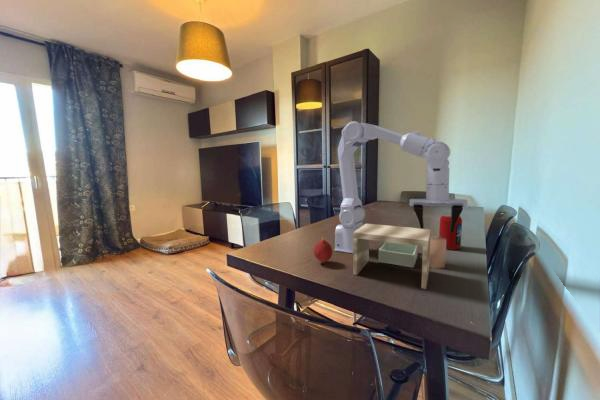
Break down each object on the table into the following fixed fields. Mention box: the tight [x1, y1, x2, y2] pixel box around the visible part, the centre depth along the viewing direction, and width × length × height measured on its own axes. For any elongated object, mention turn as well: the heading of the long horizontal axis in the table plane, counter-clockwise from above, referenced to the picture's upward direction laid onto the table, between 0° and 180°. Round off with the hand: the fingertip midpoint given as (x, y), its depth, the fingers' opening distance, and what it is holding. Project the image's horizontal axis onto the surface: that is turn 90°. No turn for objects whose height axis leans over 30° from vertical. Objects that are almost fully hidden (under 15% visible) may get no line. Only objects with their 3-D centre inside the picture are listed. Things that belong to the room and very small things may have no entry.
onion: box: [313, 237, 333, 264], centre depth 77 cm, size 6×6×8 cm
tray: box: [377, 242, 419, 268], centre depth 80 cm, size 10×15×4 cm, turn 149°
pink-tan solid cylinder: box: [429, 235, 447, 269], centre depth 74 cm, size 6×6×8 cm
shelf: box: [352, 223, 432, 290], centre depth 68 cm, size 18×12×12 cm, turn 59°
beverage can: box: [438, 212, 463, 250], centre depth 88 cm, size 7×7×12 cm
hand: (436, 230), depth 73 cm, fingers open, 7 cm apart
